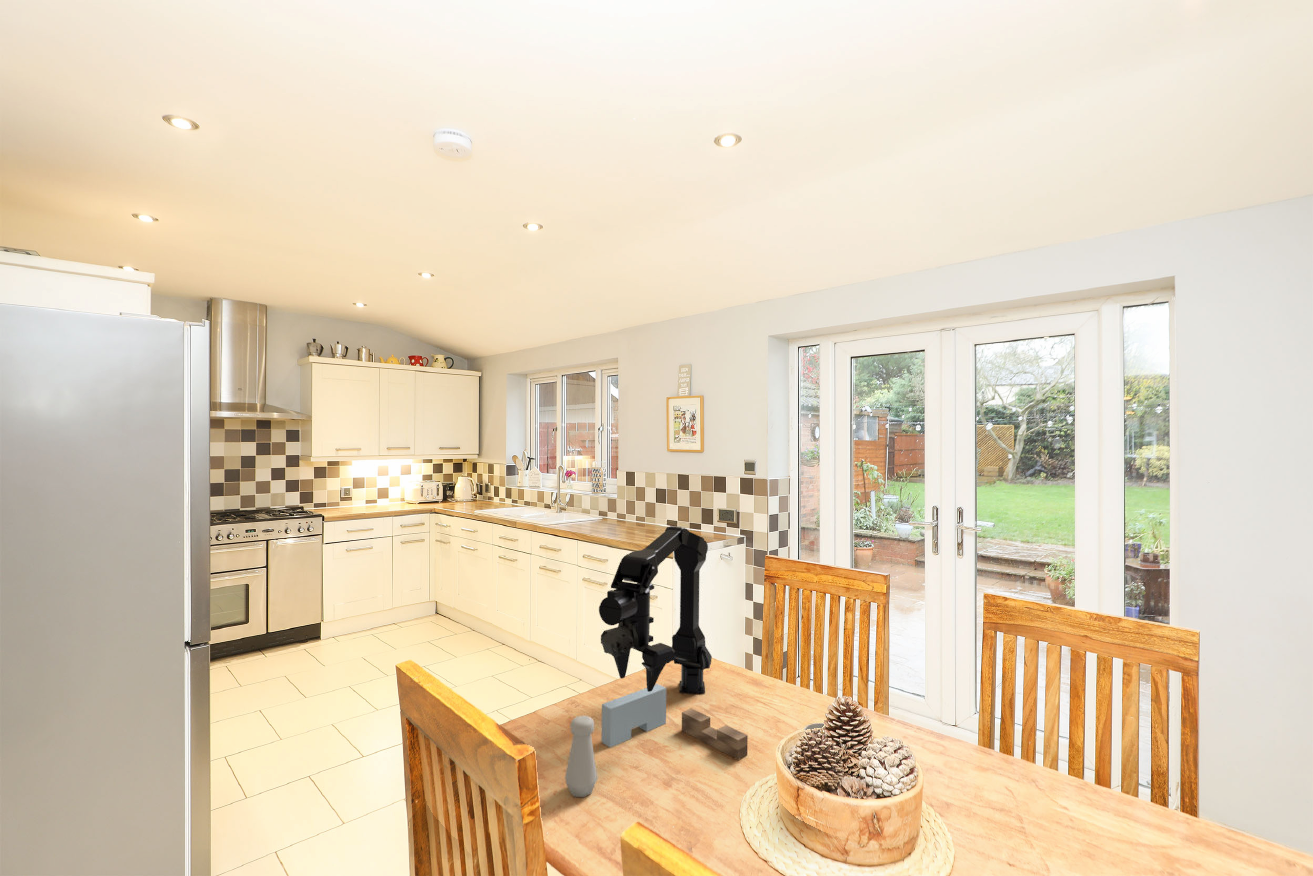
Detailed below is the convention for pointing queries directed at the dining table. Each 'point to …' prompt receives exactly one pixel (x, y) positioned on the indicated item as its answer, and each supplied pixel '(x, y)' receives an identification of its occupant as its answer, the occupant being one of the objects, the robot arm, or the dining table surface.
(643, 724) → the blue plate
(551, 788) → the dining table surface
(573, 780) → the salt shaker
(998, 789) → the dining table surface
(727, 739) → the walnut rail
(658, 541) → the robot arm
